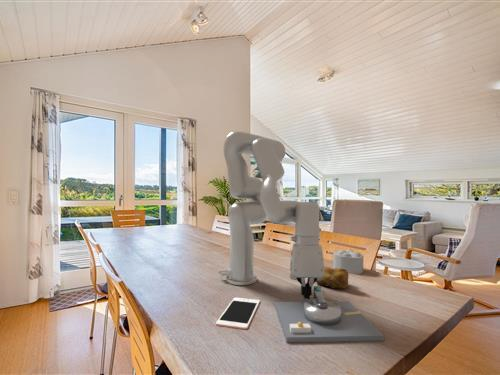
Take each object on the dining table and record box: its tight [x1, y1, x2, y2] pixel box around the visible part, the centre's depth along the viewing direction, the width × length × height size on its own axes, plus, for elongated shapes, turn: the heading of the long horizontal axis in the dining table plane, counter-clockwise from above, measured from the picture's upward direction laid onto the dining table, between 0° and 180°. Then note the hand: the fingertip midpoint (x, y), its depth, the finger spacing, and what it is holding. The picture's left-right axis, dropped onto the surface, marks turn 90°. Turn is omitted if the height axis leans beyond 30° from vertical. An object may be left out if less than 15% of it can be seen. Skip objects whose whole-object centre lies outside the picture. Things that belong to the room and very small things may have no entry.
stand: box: [274, 300, 385, 343], centre depth 73 cm, size 24×20×3 cm
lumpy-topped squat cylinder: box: [332, 249, 364, 275], centre depth 122 cm, size 10×13×9 cm
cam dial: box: [304, 285, 341, 325], centre depth 77 cm, size 17×10×4 cm, turn 173°
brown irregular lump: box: [315, 266, 349, 290], centre depth 102 cm, size 13×10×8 cm
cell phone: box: [215, 297, 261, 330], centre depth 78 cm, size 9×18×1 cm, turn 167°
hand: (306, 297), depth 84 cm, fingers closed
